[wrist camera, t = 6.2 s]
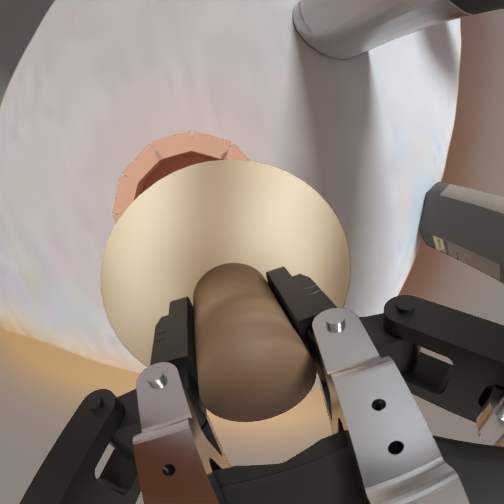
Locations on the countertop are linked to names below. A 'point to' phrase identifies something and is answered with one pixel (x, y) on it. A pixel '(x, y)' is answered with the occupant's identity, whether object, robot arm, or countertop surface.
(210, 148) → the bowl
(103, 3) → the countertop surface
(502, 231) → the liquor
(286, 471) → the robot arm
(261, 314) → the lid
